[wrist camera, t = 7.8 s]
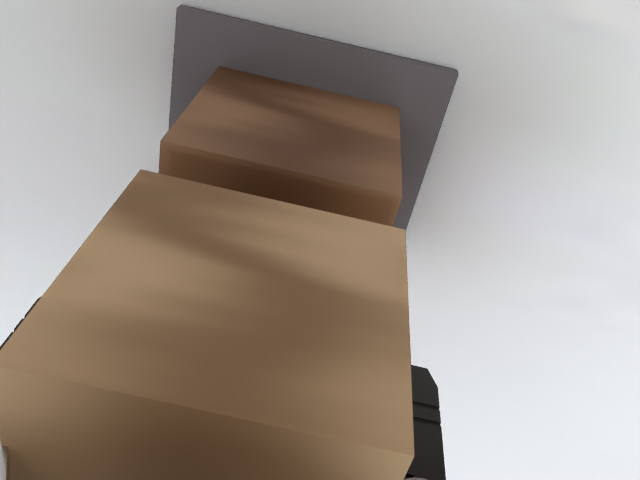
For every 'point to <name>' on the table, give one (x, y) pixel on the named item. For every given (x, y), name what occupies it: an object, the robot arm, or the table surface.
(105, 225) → the oak block
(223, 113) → the walnut base block
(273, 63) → the felt pad
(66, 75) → the table surface
